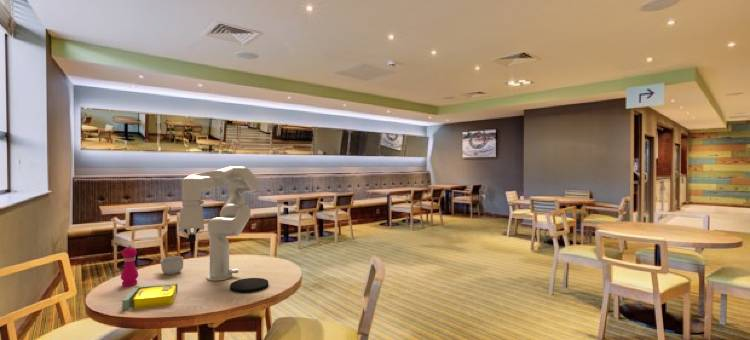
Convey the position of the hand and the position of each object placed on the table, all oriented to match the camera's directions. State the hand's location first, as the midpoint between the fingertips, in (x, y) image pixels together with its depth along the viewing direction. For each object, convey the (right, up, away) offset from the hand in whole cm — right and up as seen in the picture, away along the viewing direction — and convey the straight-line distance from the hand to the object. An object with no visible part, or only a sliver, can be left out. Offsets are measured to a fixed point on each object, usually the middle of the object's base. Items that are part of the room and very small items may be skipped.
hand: (192, 242), depth 177 cm
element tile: (-10, -24, -12) cm, 28 cm away
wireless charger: (+24, -24, +8) cm, 35 cm away
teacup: (-26, -22, +30) cm, 46 cm away
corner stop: (-12, -23, -11) cm, 28 cm away
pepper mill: (-35, -23, +9) cm, 43 cm away
